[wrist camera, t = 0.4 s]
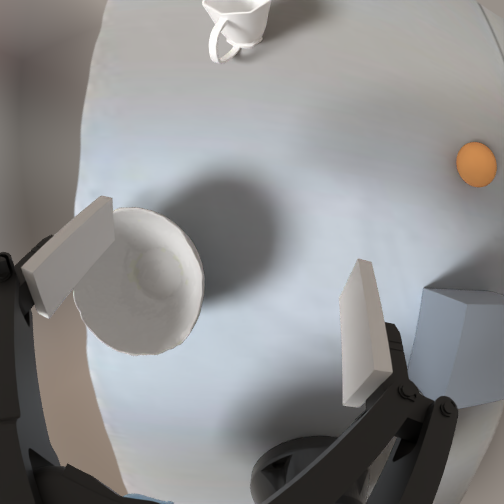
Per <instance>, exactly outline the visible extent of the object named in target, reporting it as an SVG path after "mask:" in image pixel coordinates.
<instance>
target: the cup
mask: <svg viewBox="0 0 504 504" xmlns="http://www.w3.org/2000/svg"><path fill="white" fill-rule="evenodd" d="M202 4H203V6H204V8H205V9H206V11H207V12H208V14H209V15H210V17H211V18H212V20H213V22H214V23H215V26H214V28H213V30H212V32H211V35H210V40H209V52H210V57H211V60H212V61H214V62H215V63H219V64H223V63H226V62H227V61H229V60H230V59H232V58H233V57H234V56H235V55H236V54H237V53H238V52H239V50H240V48H253V47H254V46H255V45H257V44H258V43H259V42H261V41H262V35H263V33H264V30H265V28H266V25H267V19H268V13H269V9H270V4H271V0H203V3H202ZM220 33H222V34H223V35H224V36H225V37H226V38H227V42H228V43H230V44H231V45H233V48H232V50H231V51H229V52H228V53H227V54H226V55H224V56H223V57H221V58H220V59H219V56H218V48H217V45H218V40H219V35H220Z"/></svg>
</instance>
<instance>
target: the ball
mask: <svg viewBox="0 0 504 504" xmlns="http://www.w3.org/2000/svg"><path fill="white" fill-rule="evenodd" d="M456 164H457V170H458V172H459V175H460V176H461V178H462V179H463V180H464V181H465V182H466V183H467V184H469V185H471V186H473V187H484V186H487V185H488V184H490V183H491V182H492V180H493V179H494V177H495V175H496V171H497V164H496V159H495V157H494V155H493V153H492V151H491V150H490V149H489V148H488V147H487V146H485V145H484V144H482V143H478V142H470V143H467V144H466V145H464V146H463V147H462V148H461V149H460V151H459V153H458V155H457V160H456Z"/></svg>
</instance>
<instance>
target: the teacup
mask: <svg viewBox="0 0 504 504" xmlns="http://www.w3.org/2000/svg"><path fill="white" fill-rule="evenodd" d="M113 221H114V235H115V241H114V242H113V243H112V244H111V245H110V246H109V247H108V248H107V249H106V251H105V252H104V253H103V254H102V255H101V256H100V257H99V259H98V260H97V261H96V262H95V263H94V264H93V265H92V267H91V268H90V269H89V270H88V271H87V272H86V274H85V275H84V276H83V277H82V278H81V280H80V281H79V282H78V283H77V284H76V286H75V287H74V288H73V297H74V301H75V304H76V306H77V308H78V310H79V311H80V317H81V319H82V320H83V322H84V323H85V325H86V326H87V327H88V328H89V330H90V331H91V332H92V333H93V334H94V335H95V336H96V337H97V338H98V339H99V340H100V341H101V342H102V343H104V344H105V345H107V346H108V347H110V348H112V349H114V350H116V351H118V352H121V353H126V354H129V355H132V356H138V355H158V354H161V353H163V352H165V351H167V350H169V349H173V348H175V347H176V346H178V345H180V344H182V343H183V342H184V340H185V339H186V338H187V337H188V335H189V334H190V333H191V331H192V329H193V327H194V326H195V324H196V322H197V320H198V317H199V315H200V311H201V307H202V302H203V298H204V289H205V277H204V269H203V265H202V262H201V259H200V256H199V253H198V251H197V249H196V247H195V245H194V244H193V242H192V241H191V239H190V238H189V237H188V235H187V234H186V233H185V232H184V231H183V230H182V229H181V228H180V227H179V226H178V225H177V224H176V223H174V222H173V221H172V220H170V219H169V218H167V217H165V216H163V215H162V214H160V213H157V212H155V211H152V210H148V209H143V208H137V207H130V208H119V209H116V210H114V211H113Z"/></svg>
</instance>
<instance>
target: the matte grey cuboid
mask: <svg viewBox="0 0 504 504" xmlns="http://www.w3.org/2000/svg"><path fill="white" fill-rule="evenodd" d="M407 371H408V377H409V379H410V380H411V381H412V382H413V383H414V384H415V385H416V386H417V388H418V389H419V390H420V391H421V392H422V393H423V394H424V396H425V397H427V398H429V399H431V400H434V401H435V400H436V399H437V398H439V397H440V396H447V397H450V398H451V399H452V400H453V401H454V402H455V404H456V405H457V408H458V409H461V408H466V407H471V406H476V405H481V404H486V403H490V402H495V401H499V400H503V399H504V295H502V294H498V293H495V292H491V291H479V290H456V289H435V288H423V294H422V301H421V307H420V313H419V319H418V324H417V330H416V335H415V340H414V344H413V349H412V354H411V358H410V362H409V366H408V370H407Z"/></svg>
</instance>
